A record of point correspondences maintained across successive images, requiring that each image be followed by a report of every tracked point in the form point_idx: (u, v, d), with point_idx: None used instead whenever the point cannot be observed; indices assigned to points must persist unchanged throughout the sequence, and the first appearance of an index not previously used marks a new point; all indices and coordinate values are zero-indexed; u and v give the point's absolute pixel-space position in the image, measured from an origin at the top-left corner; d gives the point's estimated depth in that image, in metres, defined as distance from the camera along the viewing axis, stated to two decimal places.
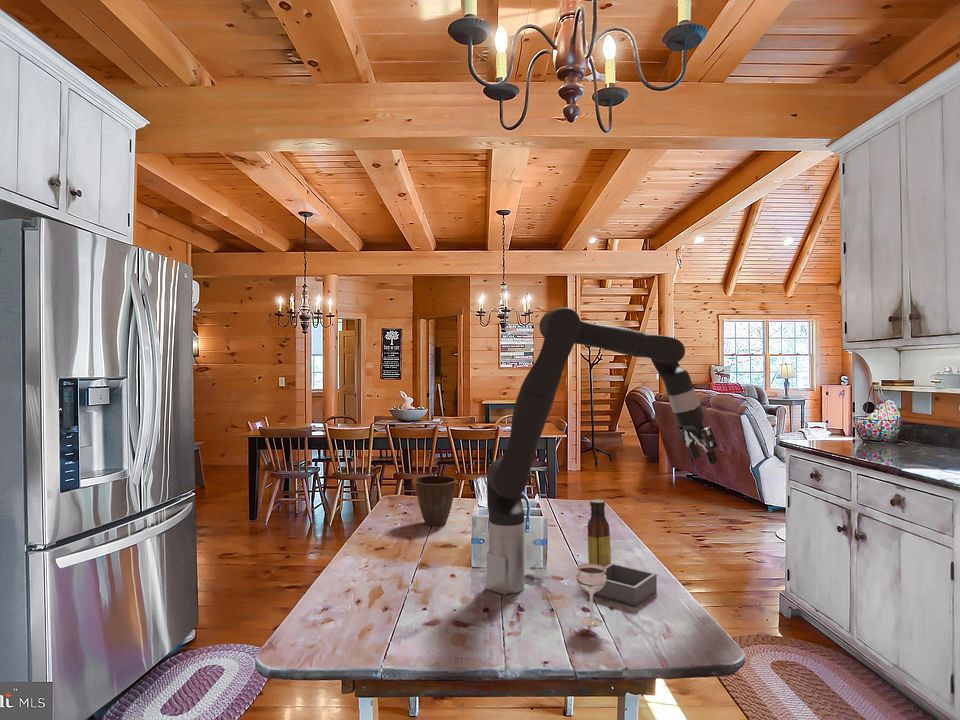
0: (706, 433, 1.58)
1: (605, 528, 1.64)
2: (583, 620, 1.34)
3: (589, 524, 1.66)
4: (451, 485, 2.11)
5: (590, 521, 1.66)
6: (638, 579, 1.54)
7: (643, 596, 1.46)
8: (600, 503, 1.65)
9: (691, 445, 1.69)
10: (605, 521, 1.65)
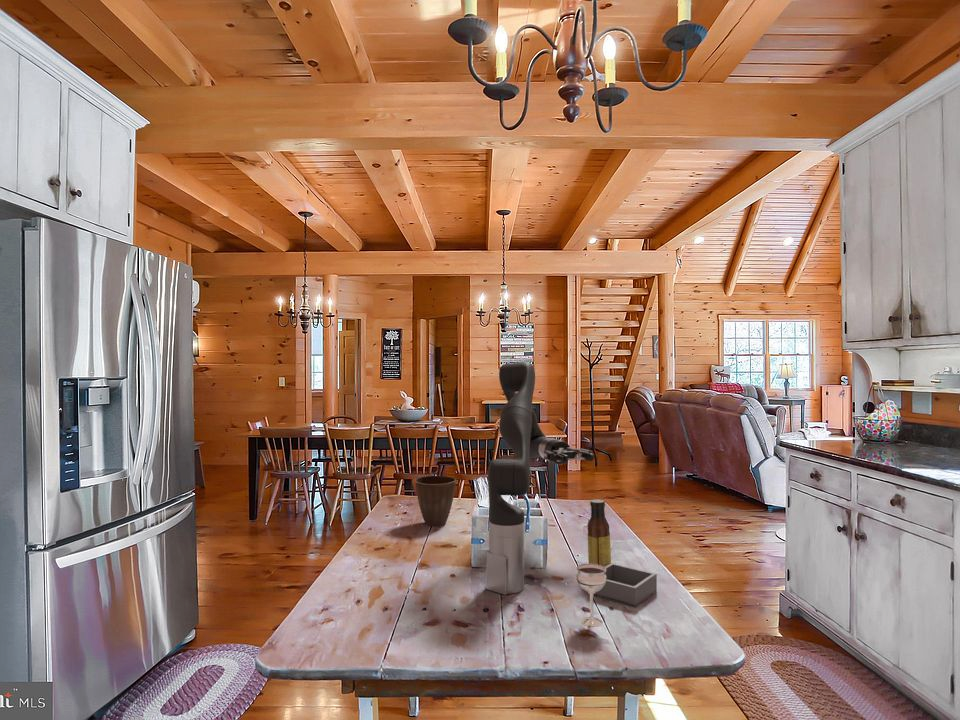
0: None
1: (605, 528, 1.64)
2: (583, 620, 1.34)
3: (589, 524, 1.66)
4: (451, 485, 2.11)
5: (590, 521, 1.66)
6: (638, 579, 1.54)
7: (643, 596, 1.46)
8: (600, 503, 1.65)
9: None
10: (605, 521, 1.65)
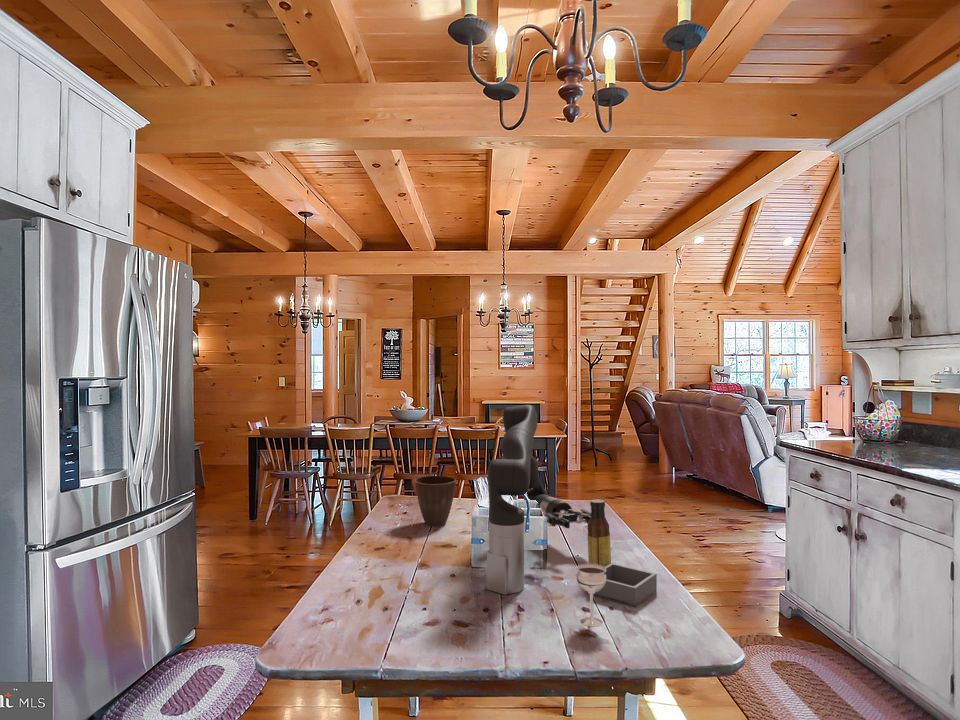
0: None
1: (605, 528, 1.64)
2: (583, 620, 1.34)
3: (589, 524, 1.66)
4: (451, 485, 2.11)
5: (590, 521, 1.66)
6: (638, 579, 1.54)
7: (643, 596, 1.46)
8: (600, 503, 1.65)
9: None
10: (605, 521, 1.65)
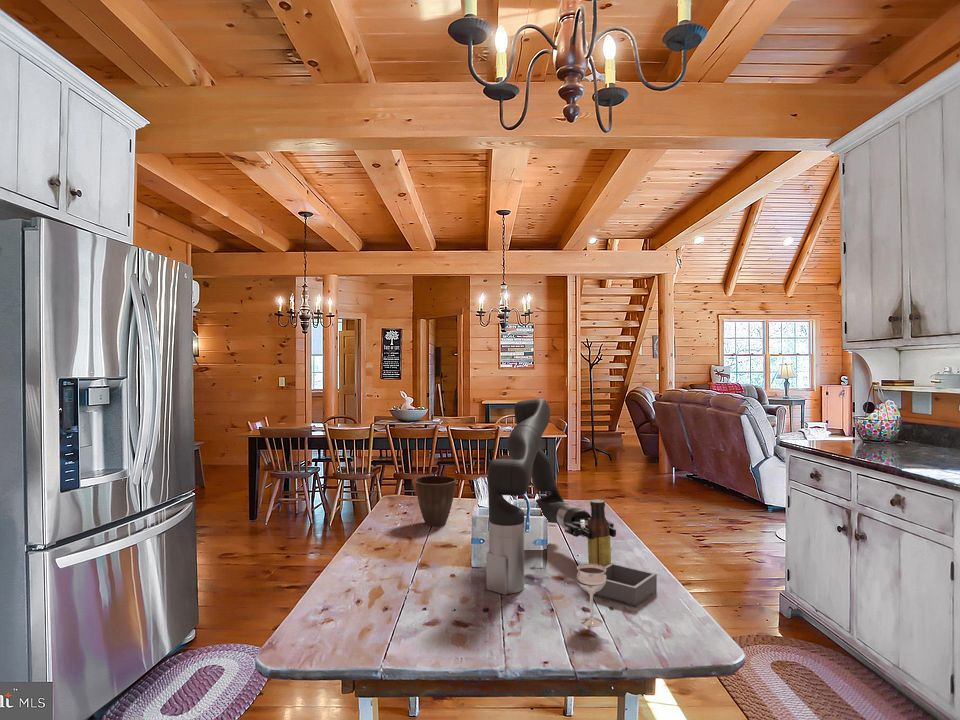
0: None
1: (605, 528, 1.64)
2: (583, 620, 1.34)
3: (589, 524, 1.66)
4: (451, 485, 2.11)
5: (590, 521, 1.66)
6: (638, 579, 1.54)
7: (643, 596, 1.46)
8: (600, 503, 1.65)
9: None
10: (605, 521, 1.65)
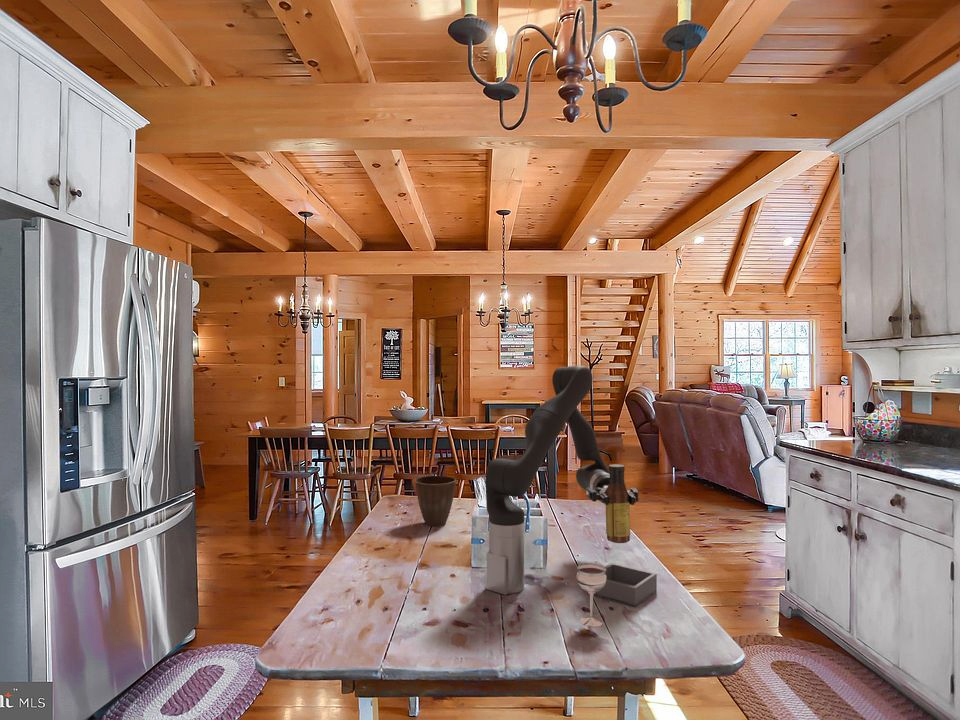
0: None
1: (622, 494, 1.54)
2: (583, 620, 1.34)
3: (606, 489, 1.57)
4: (451, 485, 2.11)
5: (608, 486, 1.57)
6: (638, 579, 1.54)
7: (643, 596, 1.46)
8: (617, 467, 1.55)
9: None
10: (623, 487, 1.55)
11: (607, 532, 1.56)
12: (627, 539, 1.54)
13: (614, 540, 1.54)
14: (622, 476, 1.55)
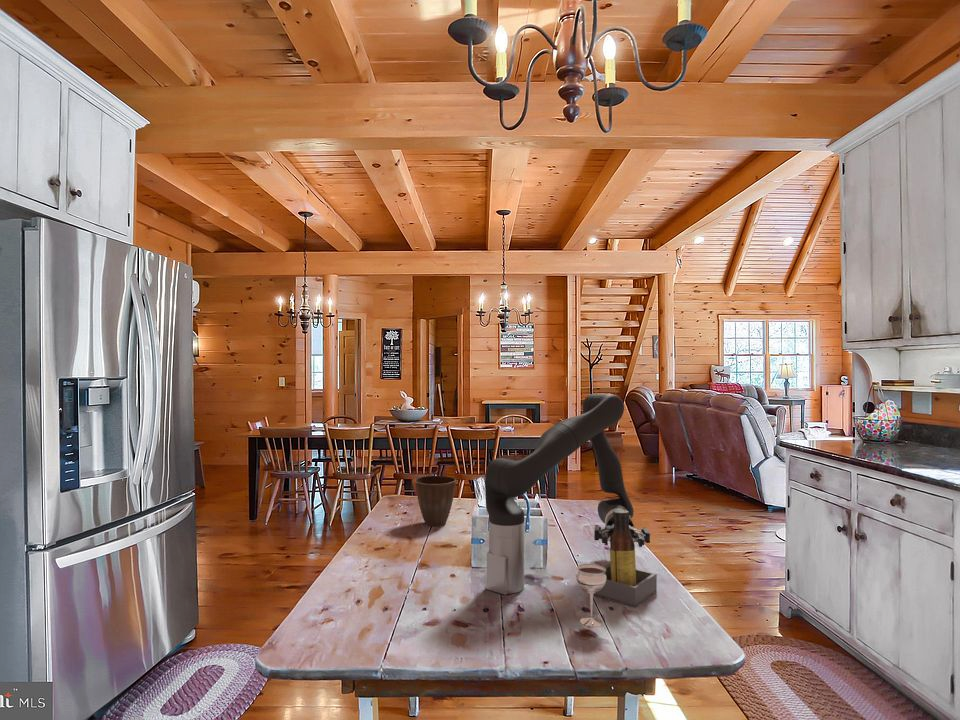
0: None
1: (625, 542, 1.49)
2: (583, 620, 1.34)
3: (611, 535, 1.52)
4: (451, 485, 2.11)
5: None
6: (638, 579, 1.54)
7: (643, 596, 1.46)
8: (620, 513, 1.50)
9: None
10: (626, 534, 1.50)
11: None
12: None
13: None
14: (626, 523, 1.51)
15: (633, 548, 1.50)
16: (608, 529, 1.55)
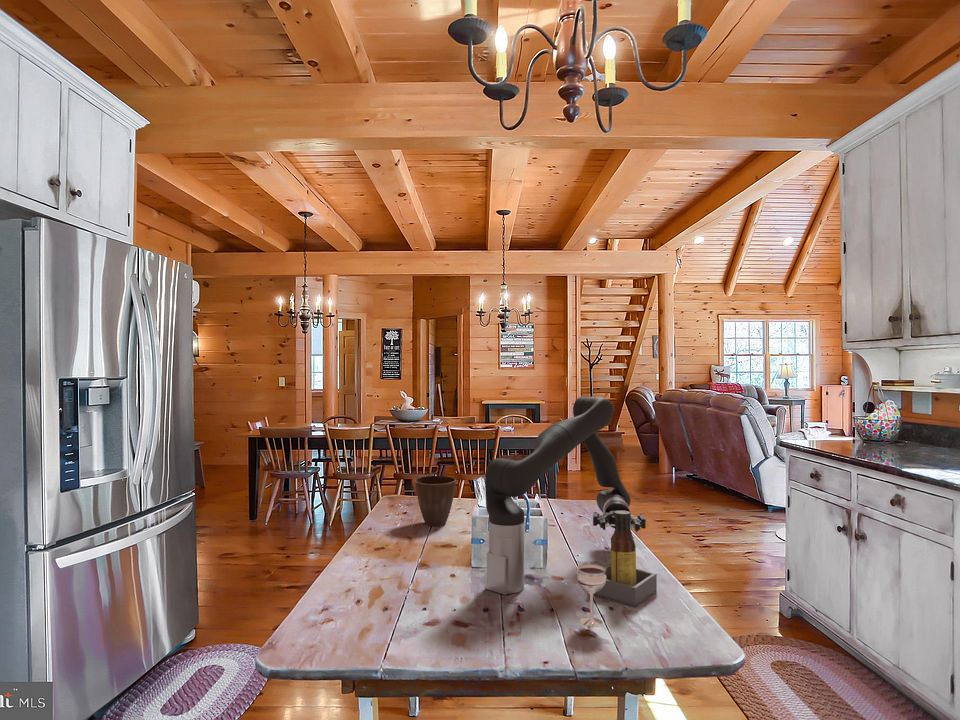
0: None
1: (626, 543, 1.48)
2: (583, 620, 1.34)
3: (612, 536, 1.52)
4: (451, 485, 2.11)
5: None
6: (638, 579, 1.54)
7: (643, 596, 1.46)
8: (622, 515, 1.50)
9: None
10: (628, 535, 1.49)
11: None
12: None
13: None
14: (627, 524, 1.50)
15: (634, 549, 1.49)
16: (606, 515, 1.65)
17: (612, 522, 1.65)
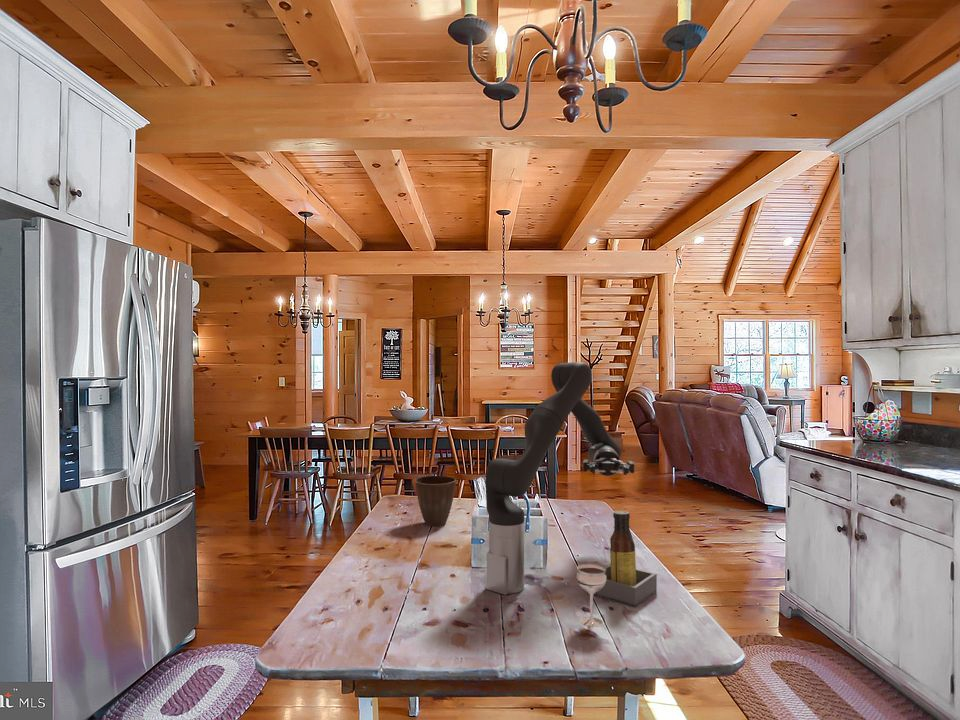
0: None
1: (625, 543, 1.48)
2: (583, 620, 1.34)
3: (611, 536, 1.52)
4: (451, 485, 2.11)
5: (613, 533, 1.52)
6: (638, 579, 1.54)
7: (643, 596, 1.46)
8: (621, 515, 1.50)
9: None
10: (627, 535, 1.49)
11: None
12: None
13: None
14: (626, 524, 1.50)
15: (633, 549, 1.49)
16: (596, 461, 1.69)
17: (602, 468, 1.69)
